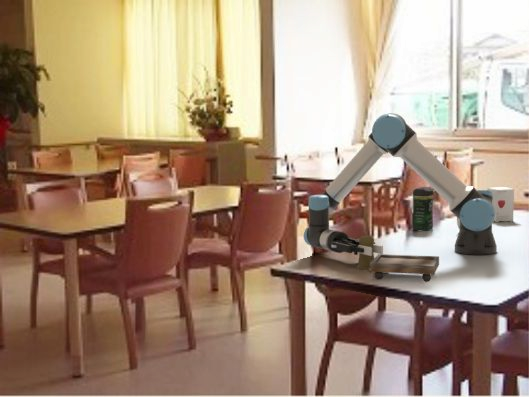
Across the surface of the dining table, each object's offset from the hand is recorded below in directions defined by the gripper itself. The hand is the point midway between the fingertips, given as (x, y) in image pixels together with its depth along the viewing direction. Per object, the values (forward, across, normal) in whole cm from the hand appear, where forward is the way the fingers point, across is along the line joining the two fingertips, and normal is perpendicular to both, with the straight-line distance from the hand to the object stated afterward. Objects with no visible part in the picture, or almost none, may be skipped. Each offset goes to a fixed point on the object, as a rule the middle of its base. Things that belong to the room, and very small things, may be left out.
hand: (376, 250), depth 276 cm
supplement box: (-47, -112, -7) cm, 121 cm away
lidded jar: (-32, -77, -7) cm, 84 cm away
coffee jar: (-51, -68, -7) cm, 85 cm away
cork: (-5, 0, -7) cm, 9 cm away
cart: (+14, 0, -6) cm, 16 cm away
